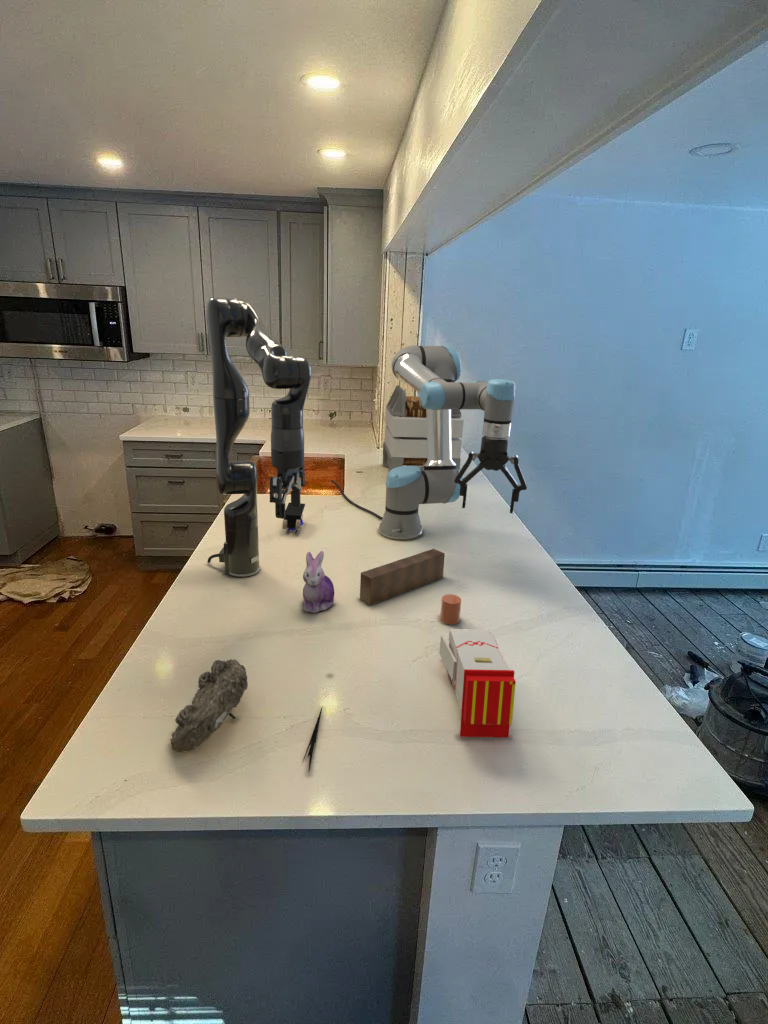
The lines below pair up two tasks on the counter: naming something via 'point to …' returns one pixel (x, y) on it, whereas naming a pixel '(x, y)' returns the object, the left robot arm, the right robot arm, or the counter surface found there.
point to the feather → (313, 740)
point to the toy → (479, 682)
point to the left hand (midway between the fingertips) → (288, 511)
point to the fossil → (210, 704)
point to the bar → (401, 576)
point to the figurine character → (293, 518)
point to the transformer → (413, 432)
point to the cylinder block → (450, 609)
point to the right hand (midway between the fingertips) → (487, 509)
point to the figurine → (316, 585)
